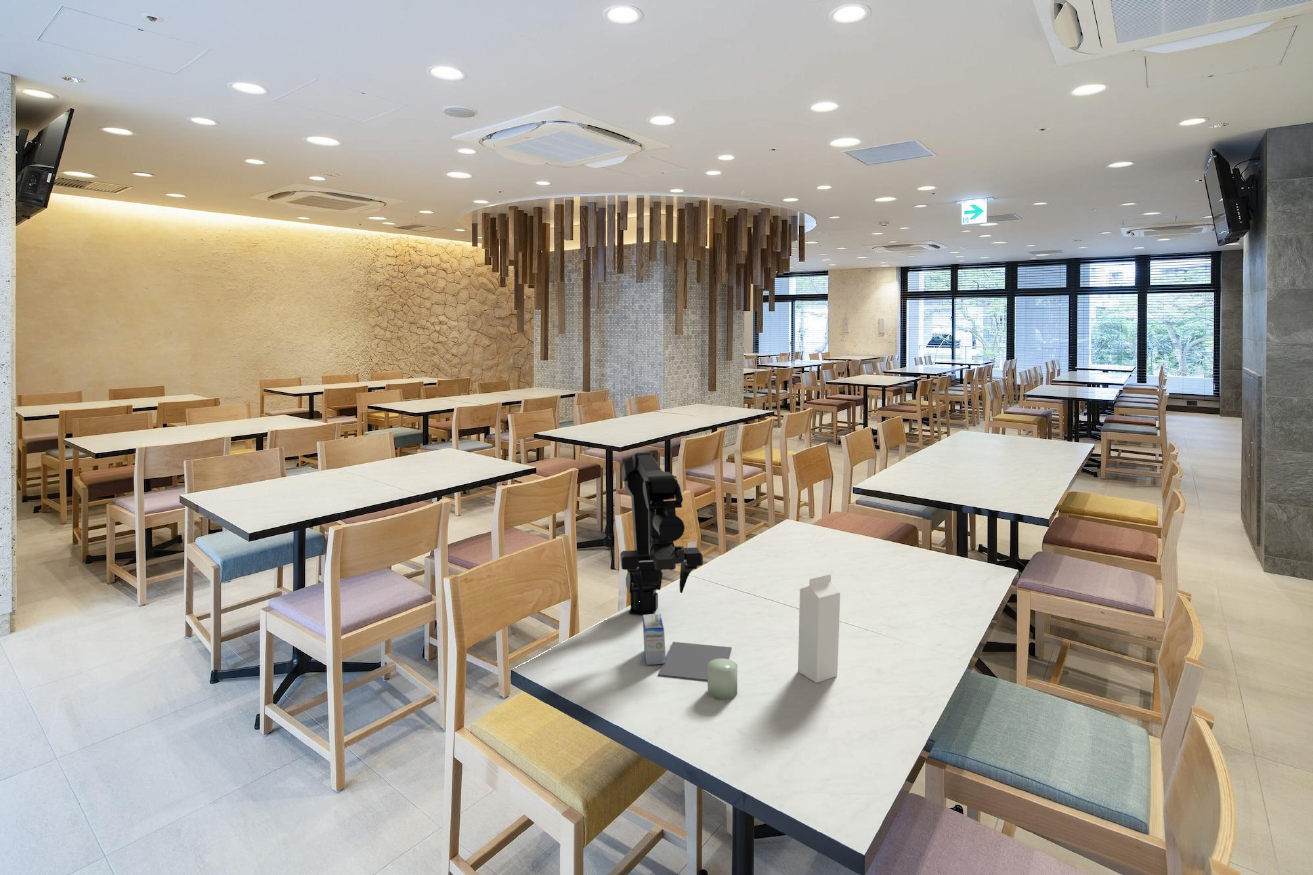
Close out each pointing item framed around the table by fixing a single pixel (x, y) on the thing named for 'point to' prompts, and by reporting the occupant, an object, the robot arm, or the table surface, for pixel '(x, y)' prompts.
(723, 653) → the mat
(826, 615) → the milk
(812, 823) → the table surface
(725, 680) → the pale green cylinder
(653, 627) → the medicine box
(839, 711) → the table surface
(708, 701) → the table surface
